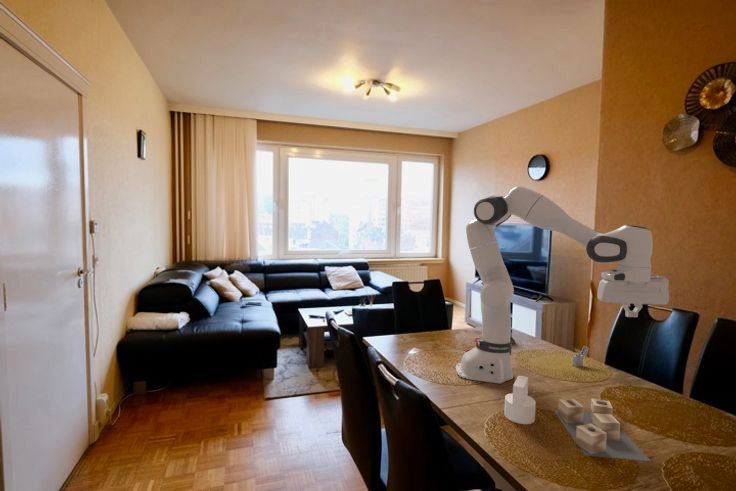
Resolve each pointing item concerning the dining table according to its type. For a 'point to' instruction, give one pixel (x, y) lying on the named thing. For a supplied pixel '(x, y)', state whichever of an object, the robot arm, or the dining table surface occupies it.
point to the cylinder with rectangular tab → (520, 403)
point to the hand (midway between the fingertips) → (631, 316)
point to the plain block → (607, 425)
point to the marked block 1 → (571, 411)
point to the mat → (608, 442)
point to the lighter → (580, 357)
